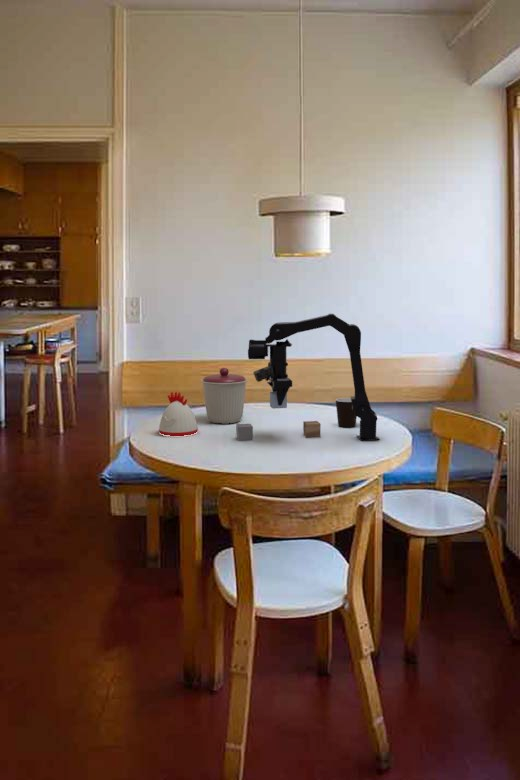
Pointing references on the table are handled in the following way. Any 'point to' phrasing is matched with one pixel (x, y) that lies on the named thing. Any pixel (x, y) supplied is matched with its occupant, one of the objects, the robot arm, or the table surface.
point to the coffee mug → (345, 413)
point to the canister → (224, 396)
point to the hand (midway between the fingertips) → (278, 404)
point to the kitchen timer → (178, 418)
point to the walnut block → (311, 429)
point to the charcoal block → (244, 432)
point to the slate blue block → (275, 403)
